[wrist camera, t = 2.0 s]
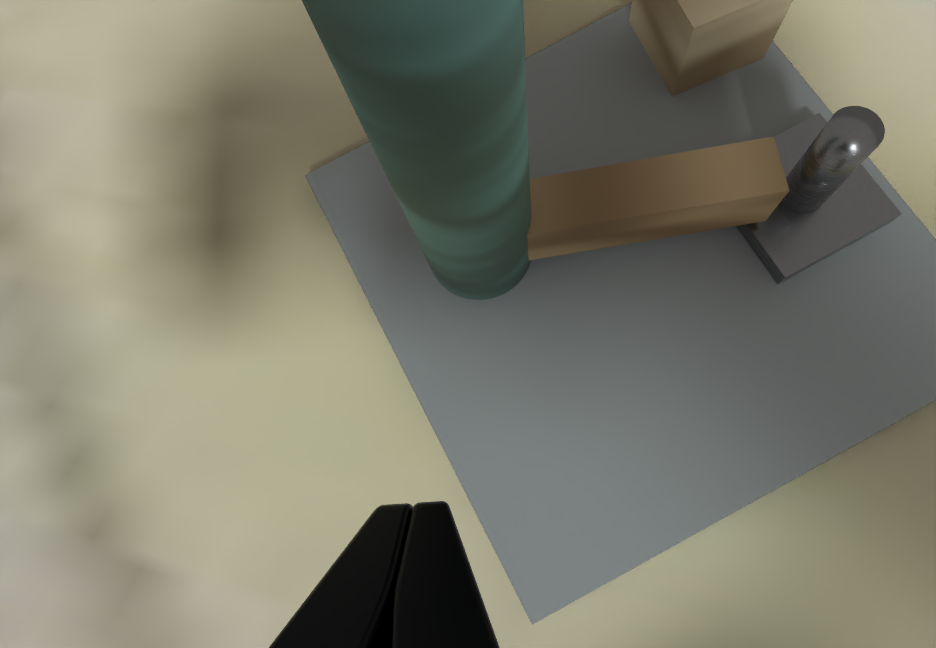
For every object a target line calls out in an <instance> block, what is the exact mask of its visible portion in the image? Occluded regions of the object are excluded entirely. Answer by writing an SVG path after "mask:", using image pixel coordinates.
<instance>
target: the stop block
mask: <svg viewBox="0 0 936 648" xmlns="http://www.w3.org/2000/svg"><path fill="white" fill-rule="evenodd" d="M792 1H793V0H632V5H631V11H630V17H629V23H630V25H631V26H632V28H633V30H634V31H635V33H636V35H637V37H638V38H639V40H640V42H641V44H642V45H643V47H644V49H645V51H646V52H647V54H648V56H649V57H650V59H651V61H652V63H653V64H654V66H655V68H656V70H657V71H658V73H659V75H660V77H661V78H662V80H663V82H664V83H665V85H666V87H667V89H668V90H669V92H670V94H671V96H674V95H677V94H679V93H682V92H684V91H686V90H689V89H691V88H694V87H696V86H698V85H701V84H703V83H706V82H708V81H710V80H713V79H715V78H718V77H720V76H722V75H725V74H727V73H730V72H732V71H734V70H737V69H739V68H742V67H744V66H746V65H749V64H751V63H754V62H756V61H758V60H761V59H763V58H764V57H765V55H766V53H767V51H768V49H769V47H770V45H771V43H772V41H773V39H774V37H775V35H776V33H777V31H778V29H779V27H780V25H781V23H782V21H783V19H784V17H785V15H786V13H787V11H788V9H789V7H790V5H791V3H792Z"/></svg>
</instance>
